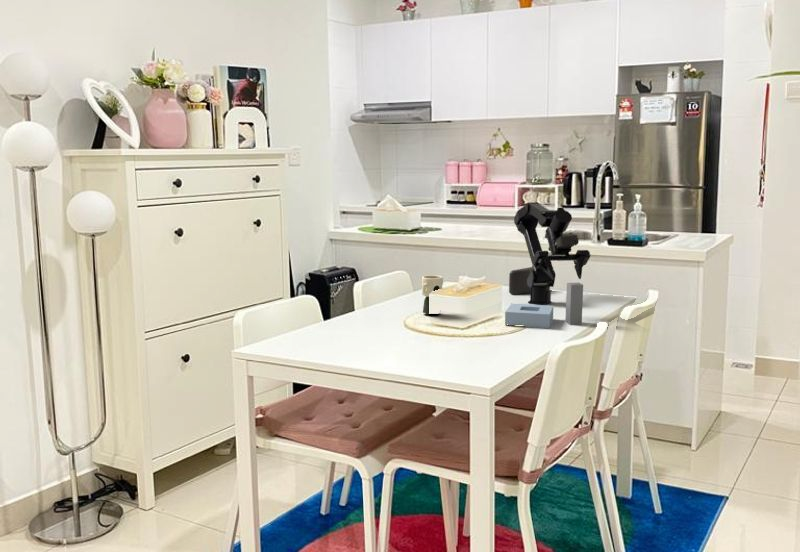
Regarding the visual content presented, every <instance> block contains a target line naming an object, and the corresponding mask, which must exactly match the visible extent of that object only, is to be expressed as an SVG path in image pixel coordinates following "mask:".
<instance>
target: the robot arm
mask: <svg viewBox="0 0 800 552" xmlns="http://www.w3.org/2000/svg"><path fill="white" fill-rule="evenodd" d="M572 218H573V216H572V214H571V213H570V212H569V211H567V210H565V208H564V207H557V209H548V208H546V207H544V206H543V205H541V203H540V202H535V201H532V202H530V201H529V202H526V203H524V206H523V207H521V208H520V209H518V210H517V211H516V213H515V216H514V217H513V221H514V222H513V223H514V225H515V226H516V230H517V231H518V232H519V233H520V234H521V235H523V237H524V241H525V244H526V248H527V251H528V254H529V258H530V261H531V265H532V266H531V267H532V268H531V270H530V274H529V276H528V278H527V285H528V286H529V287H531V291H530V293H529V294H530V297H529V298H530V299H529V300H528V301H527V303H529V304H532V305H548V304H551V303H552V300H551V298H552V295H551V294H552V290H551V288H554V285H555V283H556V282H555V280H556V271H555V270H554V266H553V264H552V261H554V262H555V261H557V262H567V261H568V262H570V261H572V262H573V264H574V270H575V273H576V275H577V278H578V279H579V280H581V279H582V275H583V267H584V266H586V265H587V264H588V261H589V259H590V258H591V253H590V251H589V250H588V249H577V251H576V252H575V254H570V253H571V252H572V247H574V246H577V245H578V244H579V237H578V235H577V234H571V235H569V236H565V235H564V233H565V232H566V231H567V229H568V227H569V225H570V223H571V221H572ZM538 224H539V226H540V227H541V228H546V229H545V234H544V238H545V239H547V243H548V248H547V249H548V250H543V249H542V246H541V241H540V239H539V236H538V232H537V227H538ZM549 251H550V253H549Z"/></svg>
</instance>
